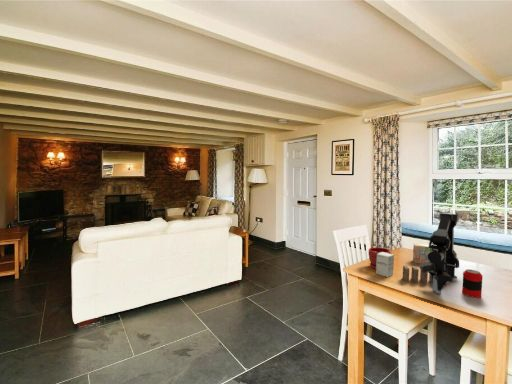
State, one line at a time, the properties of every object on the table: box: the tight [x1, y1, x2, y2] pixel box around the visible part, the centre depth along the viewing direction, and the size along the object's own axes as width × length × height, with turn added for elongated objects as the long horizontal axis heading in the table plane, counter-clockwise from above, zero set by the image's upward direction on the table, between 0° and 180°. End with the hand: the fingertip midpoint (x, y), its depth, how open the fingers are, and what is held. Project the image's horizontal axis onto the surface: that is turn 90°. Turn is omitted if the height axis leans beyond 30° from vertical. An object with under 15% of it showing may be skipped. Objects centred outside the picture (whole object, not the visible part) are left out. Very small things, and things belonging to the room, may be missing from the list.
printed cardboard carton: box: [412, 243, 432, 264], centre depth 182 cm, size 21×6×12 cm, turn 68°
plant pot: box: [368, 247, 392, 270], centre depth 173 cm, size 13×13×12 cm
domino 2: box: [410, 266, 420, 283], centre depth 152 cm, size 5×2×8 cm, turn 165°
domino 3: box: [419, 270, 429, 284], centre depth 150 cm, size 5×2×8 cm, turn 165°
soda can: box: [461, 269, 483, 299], centre depth 134 cm, size 8×8×12 cm
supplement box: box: [375, 252, 395, 278], centre depth 161 cm, size 7×7×13 cm
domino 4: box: [428, 273, 433, 285], centre depth 149 cm, size 5×2×8 cm, turn 165°
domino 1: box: [402, 265, 410, 283], centre depth 153 cm, size 5×2×8 cm, turn 165°
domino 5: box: [432, 275, 442, 294], centre depth 137 cm, size 5×2×8 cm, turn 165°
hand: (437, 288), depth 137 cm, fingers closed on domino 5, 5 cm apart
